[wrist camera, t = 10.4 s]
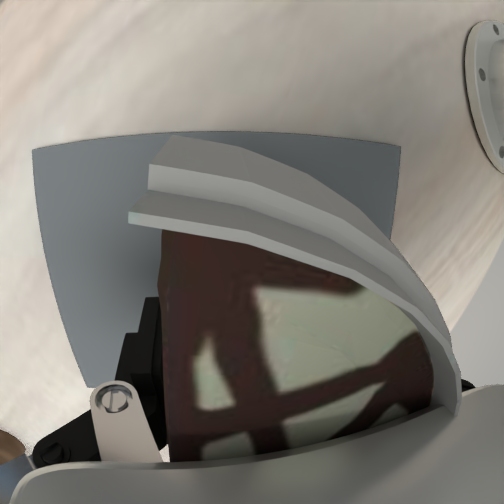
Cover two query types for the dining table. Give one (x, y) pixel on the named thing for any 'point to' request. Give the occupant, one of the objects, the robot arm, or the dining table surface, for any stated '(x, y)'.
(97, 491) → the robot arm
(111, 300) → the charcoal mat
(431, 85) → the dining table surface
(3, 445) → the walnut post
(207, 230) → the food container
